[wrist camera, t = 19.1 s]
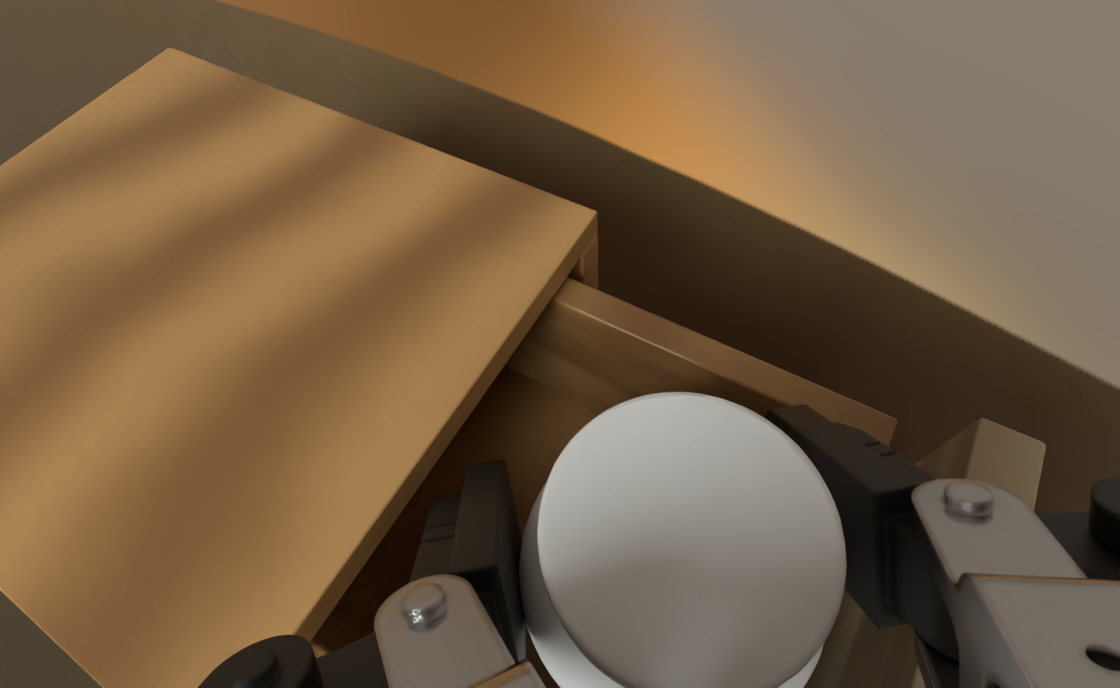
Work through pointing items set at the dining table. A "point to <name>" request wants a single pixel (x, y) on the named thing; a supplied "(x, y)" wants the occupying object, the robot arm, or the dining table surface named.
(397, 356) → the cabinet
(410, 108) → the dining table surface
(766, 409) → the drawer
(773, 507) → the pill bottle
